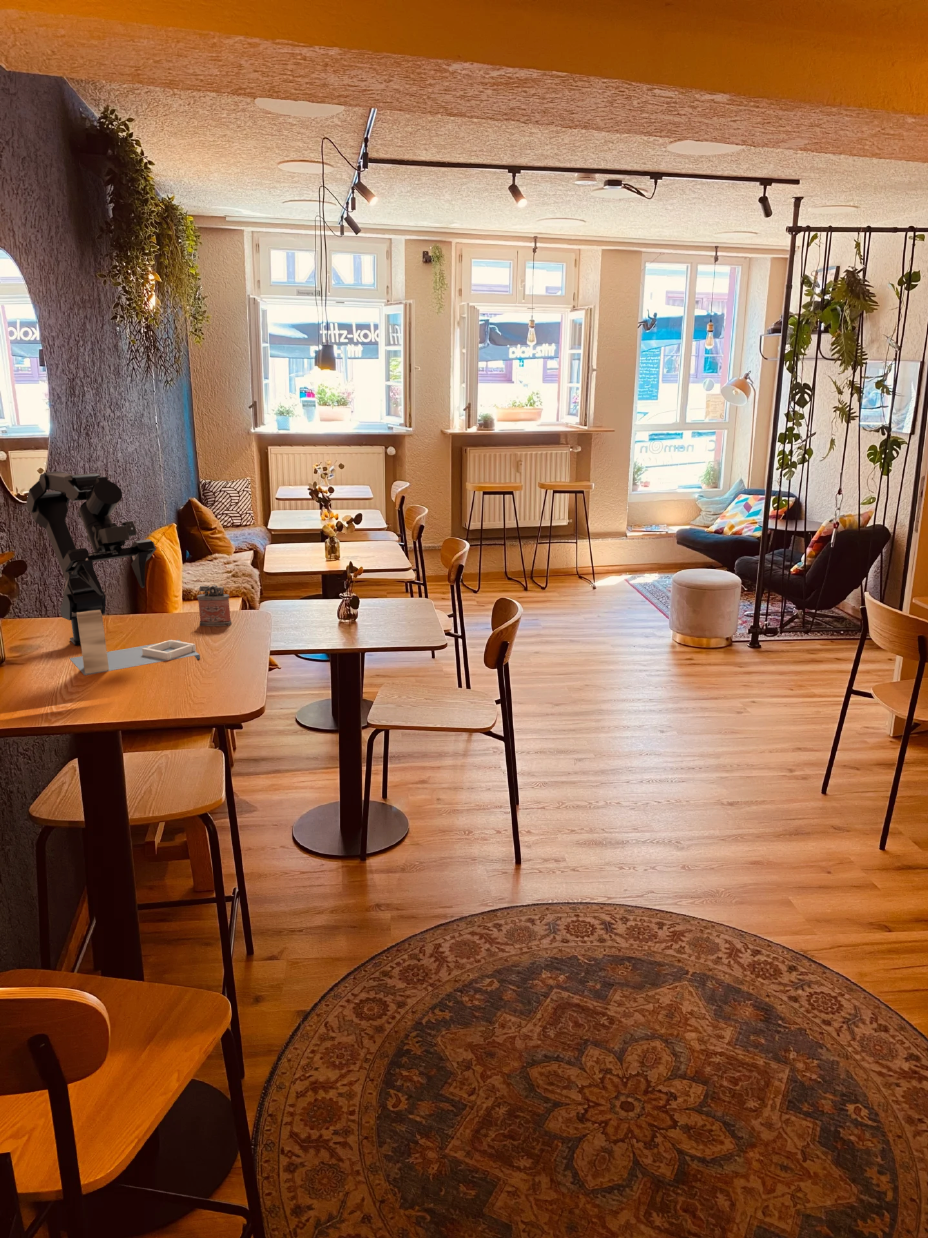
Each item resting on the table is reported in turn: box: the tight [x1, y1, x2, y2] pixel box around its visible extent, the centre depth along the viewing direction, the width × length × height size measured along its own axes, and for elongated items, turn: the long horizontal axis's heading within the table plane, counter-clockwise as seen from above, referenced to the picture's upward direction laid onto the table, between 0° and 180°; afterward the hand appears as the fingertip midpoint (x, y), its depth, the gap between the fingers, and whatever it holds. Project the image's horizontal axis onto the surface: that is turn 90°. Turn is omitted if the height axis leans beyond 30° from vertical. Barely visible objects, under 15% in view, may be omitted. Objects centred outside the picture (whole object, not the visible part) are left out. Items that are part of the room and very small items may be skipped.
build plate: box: [69, 639, 201, 676], centre depth 198 cm, size 15×24×1 cm, turn 124°
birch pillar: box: [77, 610, 109, 674], centre depth 188 cm, size 5×5×12 cm
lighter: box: [196, 584, 232, 627], centre depth 226 cm, size 8×3×10 cm, turn 84°
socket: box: [142, 639, 197, 661], centre depth 200 cm, size 8×8×2 cm
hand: (122, 590), depth 194 cm, fingers open, 9 cm apart
